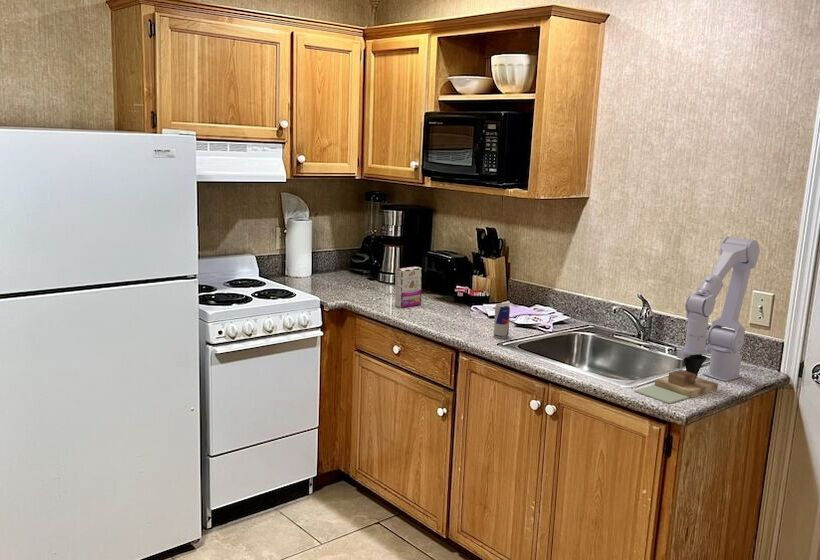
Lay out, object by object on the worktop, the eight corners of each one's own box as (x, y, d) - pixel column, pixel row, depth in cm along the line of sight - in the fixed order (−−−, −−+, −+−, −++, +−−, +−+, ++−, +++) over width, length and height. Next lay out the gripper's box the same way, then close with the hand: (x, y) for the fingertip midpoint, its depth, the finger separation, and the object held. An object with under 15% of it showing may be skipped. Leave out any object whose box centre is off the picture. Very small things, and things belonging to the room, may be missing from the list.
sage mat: (653, 386, 225) (653, 385, 225) (688, 398, 215) (688, 397, 215) (634, 391, 219) (634, 390, 219) (669, 404, 210) (669, 402, 210)
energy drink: (506, 339, 271) (508, 307, 269) (491, 337, 273) (493, 305, 271) (509, 336, 276) (511, 304, 274) (495, 334, 278) (497, 303, 276)
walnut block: (680, 379, 226) (681, 369, 225) (694, 383, 222) (695, 374, 221) (667, 382, 223) (668, 372, 222) (682, 387, 219) (683, 377, 218)
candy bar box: (413, 303, 326) (415, 266, 323) (421, 305, 322) (422, 267, 319) (393, 306, 319) (394, 268, 316) (401, 308, 315) (402, 270, 312)
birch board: (682, 378, 233) (683, 372, 233) (717, 389, 223) (717, 383, 223) (654, 386, 225) (654, 379, 224) (689, 398, 215) (690, 391, 215)
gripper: (693, 341, 215) (688, 386, 218) (722, 334, 223) (717, 378, 226) (672, 335, 221) (668, 379, 223) (701, 329, 229) (696, 371, 232)
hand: (691, 378), depth 225 cm, fingers closed
